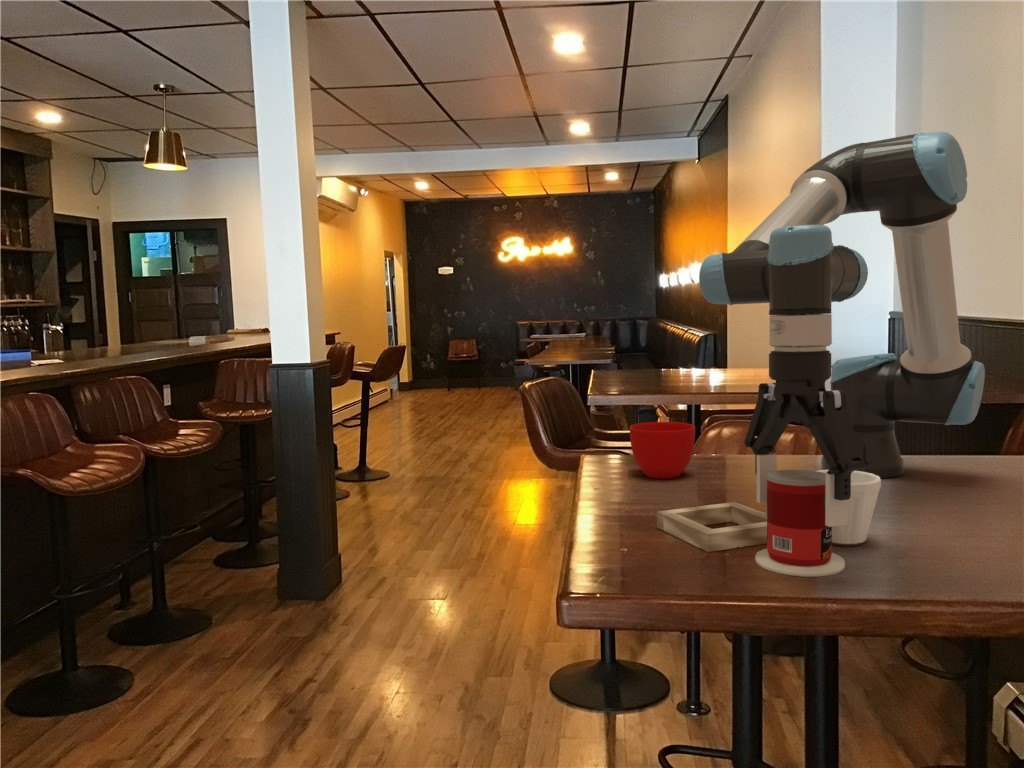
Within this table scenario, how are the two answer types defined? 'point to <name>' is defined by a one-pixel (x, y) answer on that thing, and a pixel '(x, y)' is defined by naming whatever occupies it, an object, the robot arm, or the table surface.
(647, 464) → the ceramic cup
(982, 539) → the table surface
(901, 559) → the table surface
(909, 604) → the table surface
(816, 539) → the canned food
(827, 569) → the coaster
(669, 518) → the holder
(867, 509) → the cup
